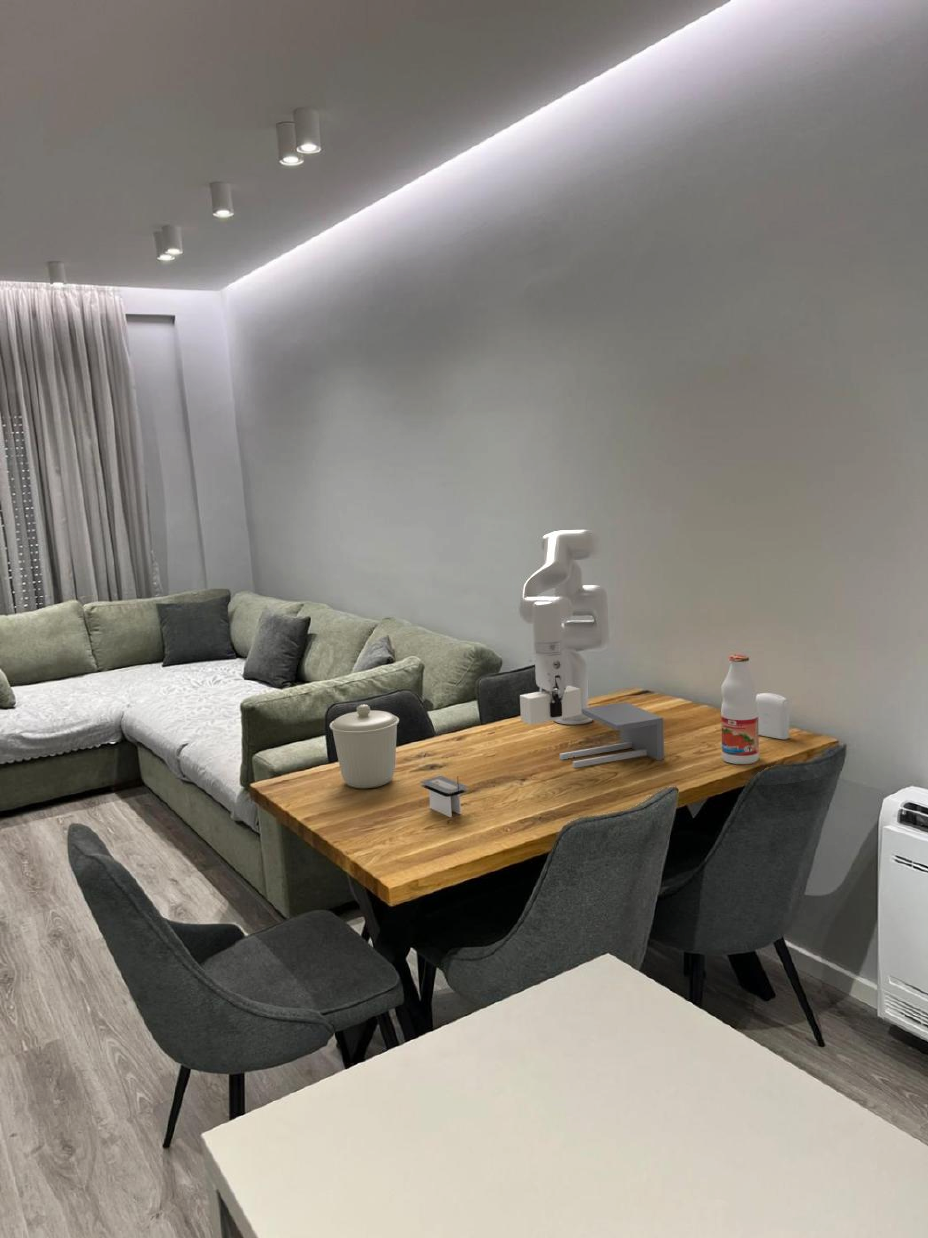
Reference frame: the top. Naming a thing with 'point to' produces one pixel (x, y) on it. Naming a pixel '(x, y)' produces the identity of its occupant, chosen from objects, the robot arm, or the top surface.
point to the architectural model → (444, 794)
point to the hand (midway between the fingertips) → (551, 713)
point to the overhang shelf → (624, 734)
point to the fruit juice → (739, 713)
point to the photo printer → (773, 715)
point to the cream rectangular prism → (538, 705)
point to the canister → (366, 746)
